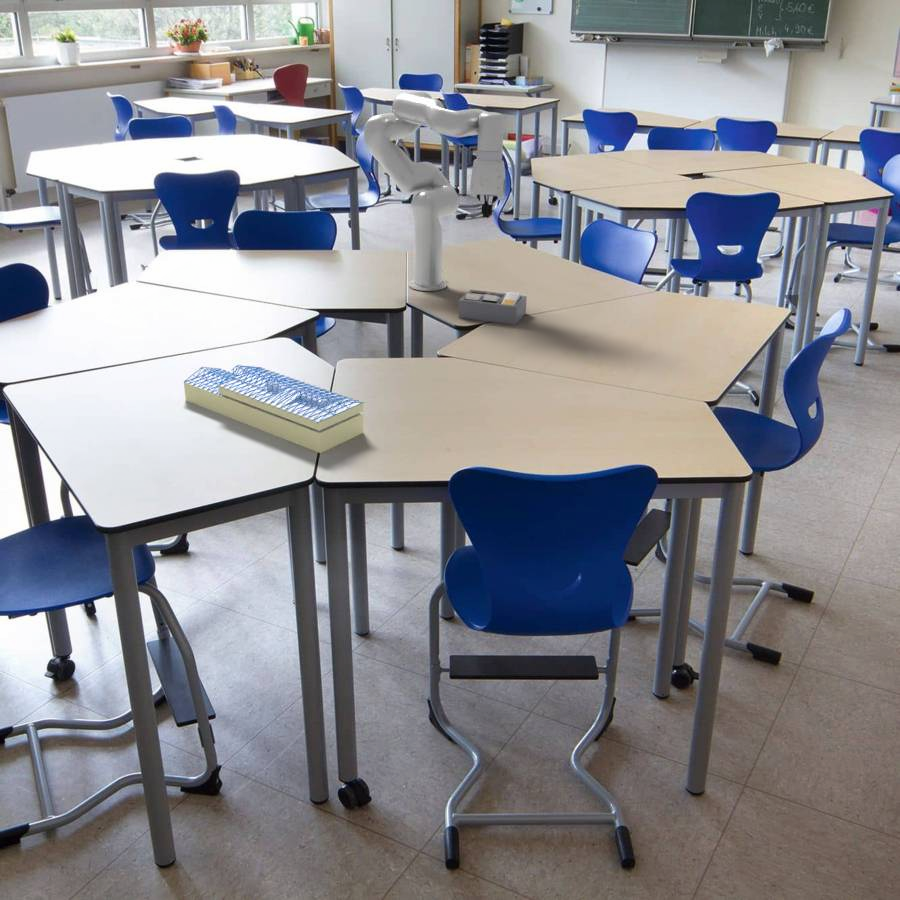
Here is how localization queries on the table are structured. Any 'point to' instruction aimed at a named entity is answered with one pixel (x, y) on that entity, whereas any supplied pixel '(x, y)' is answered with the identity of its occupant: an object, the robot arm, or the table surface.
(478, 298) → the outlet rocker
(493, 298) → the outlet rocker
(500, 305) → the grey storage tray
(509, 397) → the table surface
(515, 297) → the rocker outlet
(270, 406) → the keyboard
